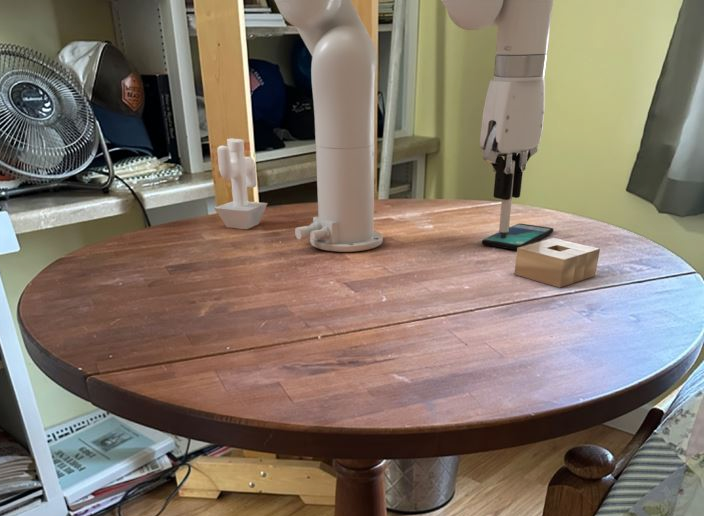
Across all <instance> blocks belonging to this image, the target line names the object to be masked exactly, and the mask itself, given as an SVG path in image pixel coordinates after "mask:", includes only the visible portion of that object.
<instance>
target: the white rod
mask: <svg viewBox="0 0 704 516" xmlns="http://www.w3.org/2000/svg"><path fill="white" fill-rule="evenodd" d="M514 169H515V161H514V160H512V163H511V171H510V173H512V174H513V180H514ZM513 180H512V189H511V198H510V199H509V200H503V199H501V205H500V217H499V226H498V227H499V229H498V233H499V232H501V236H500V237H501V238H506V236H507V232H509V228H510V223H511V212H512V211H511V210H512V200H513V197H512V191H513Z"/></svg>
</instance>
